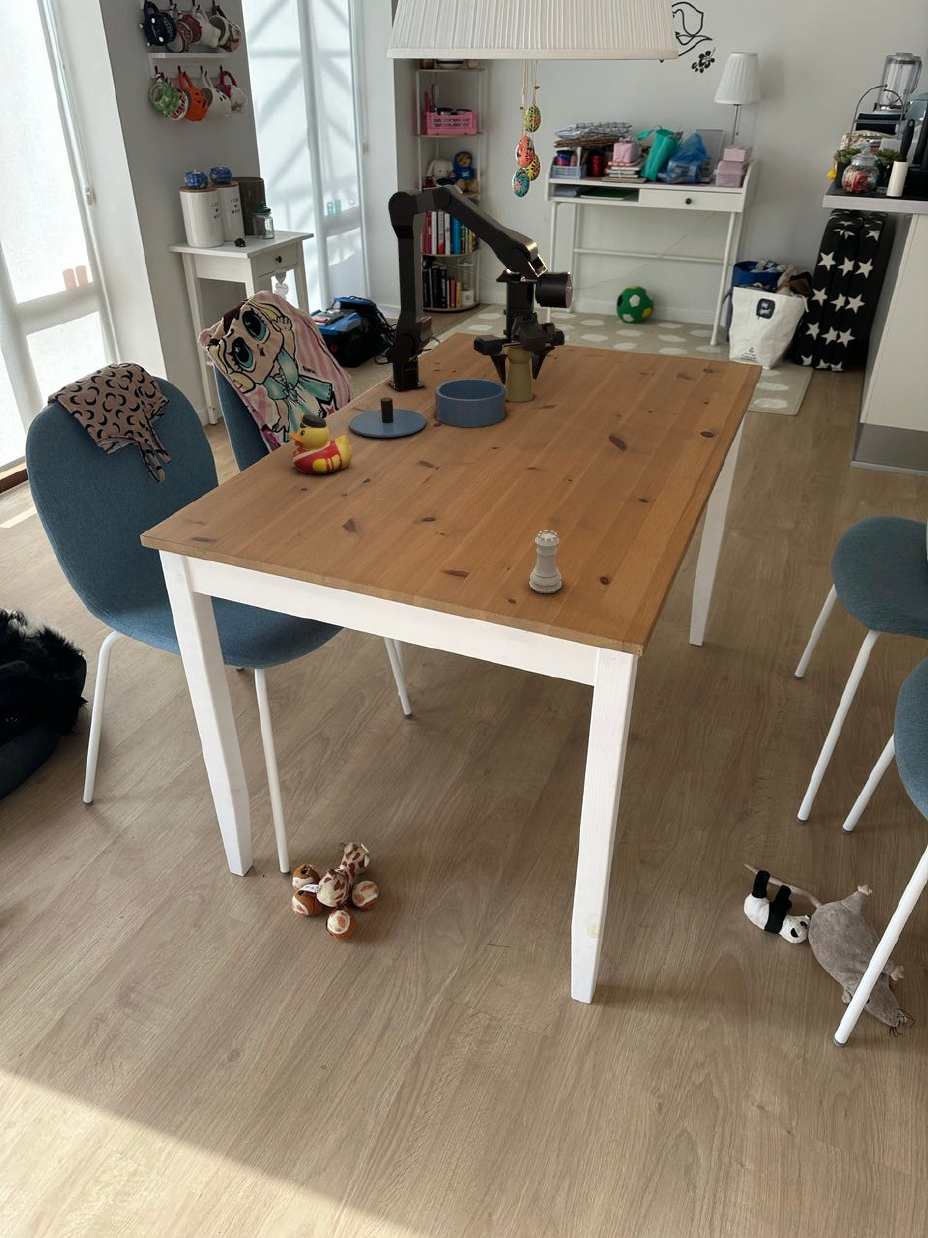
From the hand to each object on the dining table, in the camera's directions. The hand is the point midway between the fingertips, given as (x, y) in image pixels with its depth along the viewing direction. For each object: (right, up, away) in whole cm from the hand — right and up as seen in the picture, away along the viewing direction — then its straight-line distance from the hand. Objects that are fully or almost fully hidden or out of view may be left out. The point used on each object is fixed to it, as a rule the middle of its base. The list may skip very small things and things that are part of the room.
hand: (519, 381), depth 187 cm
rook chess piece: (-1, -46, -67) cm, 81 cm away
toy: (-37, -24, -30) cm, 53 cm away
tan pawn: (0, -3, +2) cm, 4 cm away
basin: (-10, -9, -7) cm, 16 cm away
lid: (-27, -12, -13) cm, 32 cm away
